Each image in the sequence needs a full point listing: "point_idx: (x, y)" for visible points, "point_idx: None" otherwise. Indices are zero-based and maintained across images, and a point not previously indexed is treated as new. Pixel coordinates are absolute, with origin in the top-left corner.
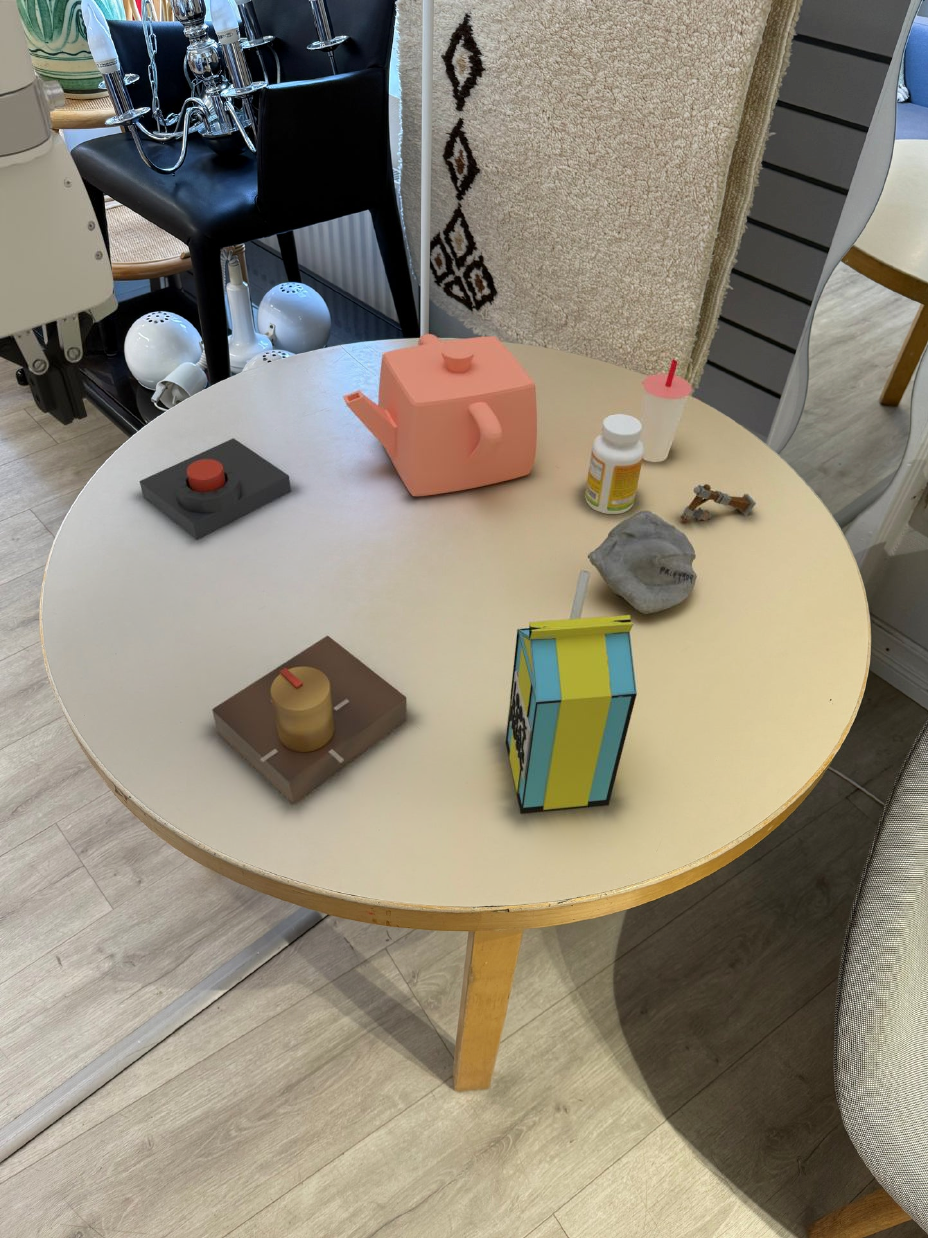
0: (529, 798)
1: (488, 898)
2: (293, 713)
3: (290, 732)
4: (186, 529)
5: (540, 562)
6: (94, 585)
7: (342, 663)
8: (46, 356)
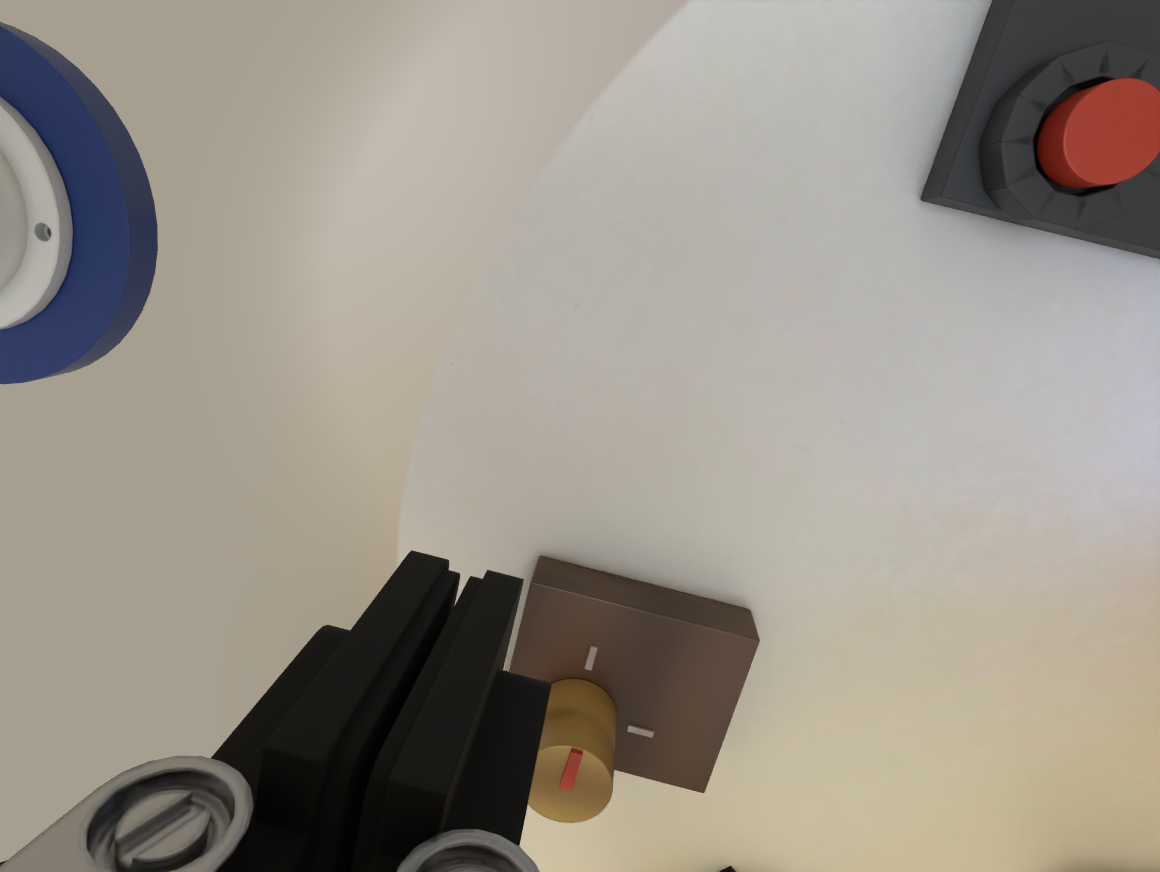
0: None
1: None
2: None
3: None
4: (938, 157)
5: (1137, 782)
6: (693, 117)
7: (715, 690)
8: (375, 830)
